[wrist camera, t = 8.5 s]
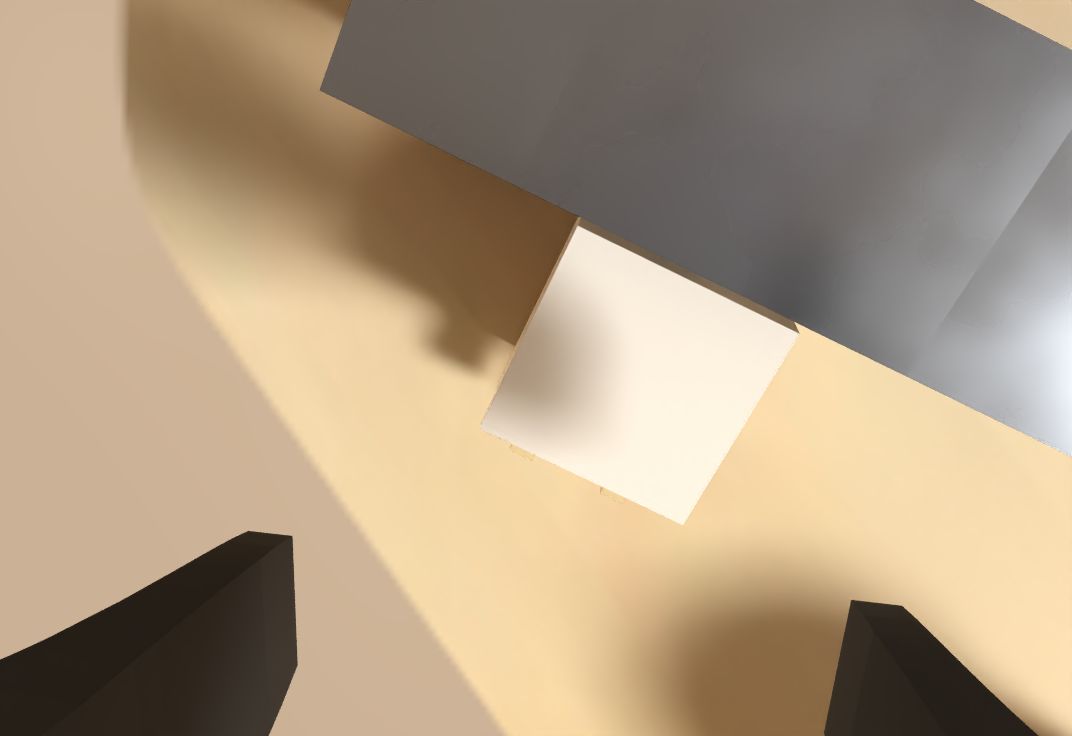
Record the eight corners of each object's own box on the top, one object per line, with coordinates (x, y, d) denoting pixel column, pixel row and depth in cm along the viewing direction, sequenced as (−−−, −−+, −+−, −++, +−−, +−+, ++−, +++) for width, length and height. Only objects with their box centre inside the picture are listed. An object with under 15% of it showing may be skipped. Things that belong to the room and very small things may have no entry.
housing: (1092, 126, 18) (1323, 177, 12) (955, 329, 19) (1094, 467, 13) (520, -162, 17) (445, -268, 11) (428, 70, 19) (319, 90, 13)
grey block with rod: (1121, -343, 15) (1394, -560, 10) (656, 460, 21) (656, 617, 15) (905, -458, 15) (1053, -748, 9) (496, 384, 21) (439, 514, 15)
